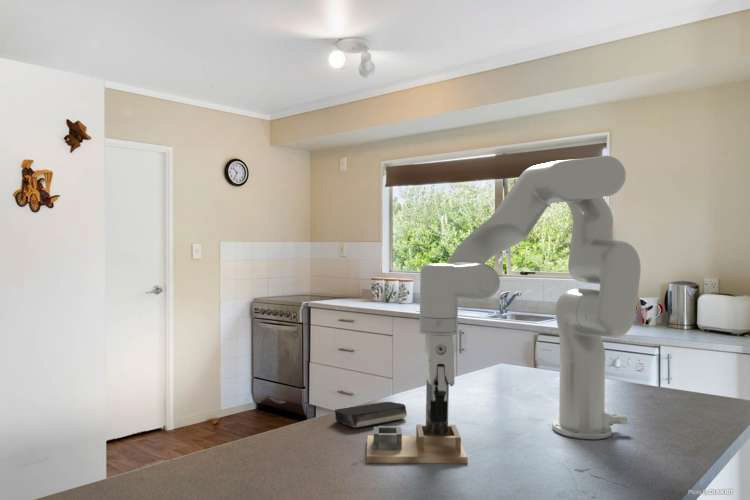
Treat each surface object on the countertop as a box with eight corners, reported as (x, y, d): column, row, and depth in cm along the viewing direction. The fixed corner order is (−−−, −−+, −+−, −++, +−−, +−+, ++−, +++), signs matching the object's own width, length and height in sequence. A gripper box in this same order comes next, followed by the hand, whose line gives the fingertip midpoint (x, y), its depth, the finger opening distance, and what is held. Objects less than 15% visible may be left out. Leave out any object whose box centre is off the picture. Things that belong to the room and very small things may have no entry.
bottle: (446, 427, 116) (447, 368, 116) (449, 434, 112) (450, 373, 112) (424, 427, 116) (425, 368, 116) (426, 434, 112) (427, 372, 112)
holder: (458, 441, 120) (458, 421, 120) (467, 463, 108) (467, 441, 108) (367, 441, 120) (367, 421, 120) (366, 462, 108) (366, 440, 108)
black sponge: (350, 432, 126) (350, 416, 126) (332, 422, 134) (332, 407, 134) (410, 421, 135) (410, 406, 135) (390, 412, 142) (390, 397, 142)
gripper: (463, 332, 106) (462, 431, 106) (452, 320, 122) (450, 406, 122) (423, 331, 106) (421, 430, 106) (416, 320, 122) (415, 405, 122)
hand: (437, 416), depth 114 cm, fingers closed on bottle, 4 cm apart
